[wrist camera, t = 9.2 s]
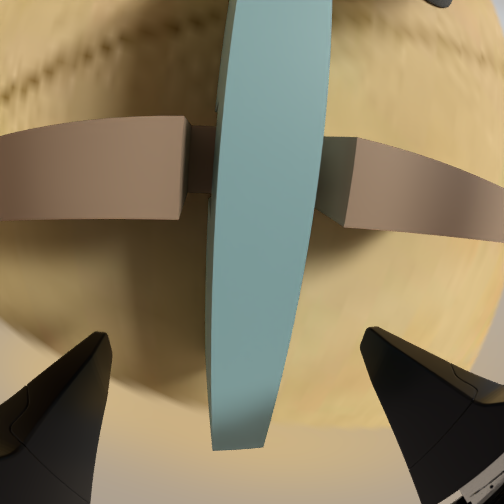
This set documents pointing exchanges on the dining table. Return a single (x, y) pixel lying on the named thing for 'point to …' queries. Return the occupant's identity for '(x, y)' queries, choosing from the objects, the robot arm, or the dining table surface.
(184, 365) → the dining table surface
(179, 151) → the walnut slotted plate
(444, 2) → the sundae
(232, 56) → the teal slotted plate
